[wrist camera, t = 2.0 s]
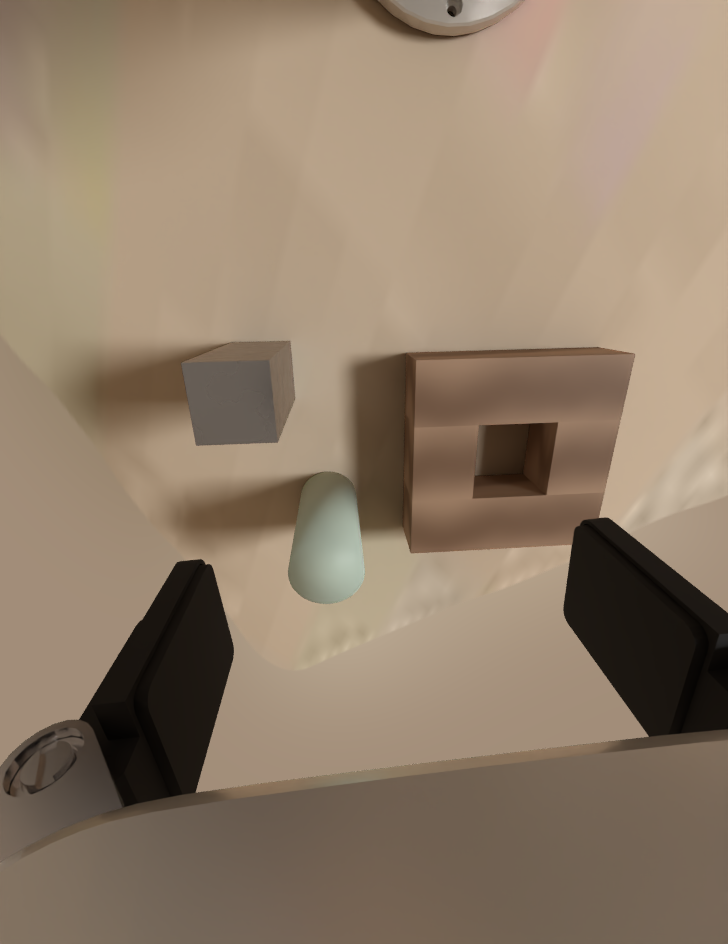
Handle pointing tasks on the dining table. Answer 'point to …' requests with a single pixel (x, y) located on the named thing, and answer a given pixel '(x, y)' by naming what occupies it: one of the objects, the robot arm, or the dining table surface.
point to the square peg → (240, 392)
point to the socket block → (547, 455)
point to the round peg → (327, 541)
